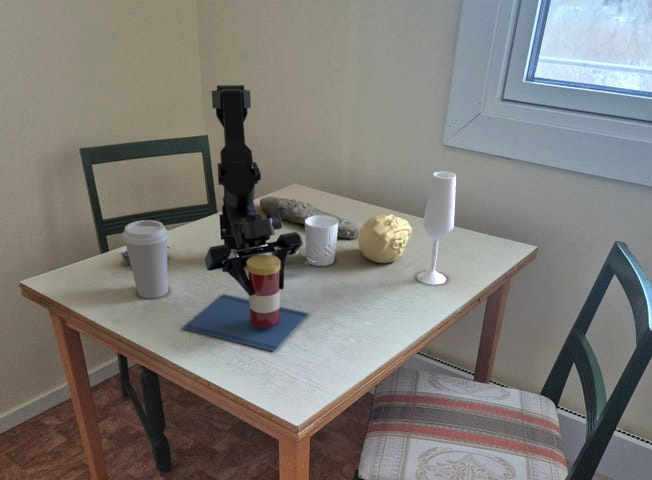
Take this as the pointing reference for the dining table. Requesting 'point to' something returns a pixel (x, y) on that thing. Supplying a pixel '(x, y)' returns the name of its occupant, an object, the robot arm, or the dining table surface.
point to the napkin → (243, 324)
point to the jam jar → (264, 290)
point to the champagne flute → (439, 219)
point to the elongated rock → (306, 214)
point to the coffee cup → (148, 256)
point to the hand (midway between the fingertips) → (266, 292)
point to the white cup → (321, 239)
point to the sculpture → (384, 238)
